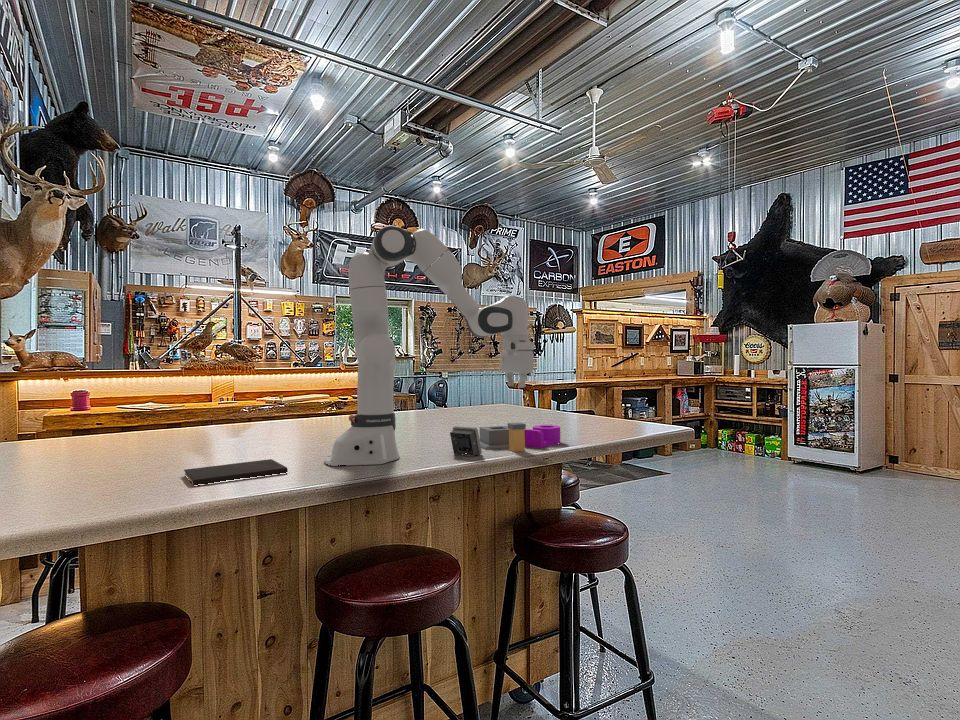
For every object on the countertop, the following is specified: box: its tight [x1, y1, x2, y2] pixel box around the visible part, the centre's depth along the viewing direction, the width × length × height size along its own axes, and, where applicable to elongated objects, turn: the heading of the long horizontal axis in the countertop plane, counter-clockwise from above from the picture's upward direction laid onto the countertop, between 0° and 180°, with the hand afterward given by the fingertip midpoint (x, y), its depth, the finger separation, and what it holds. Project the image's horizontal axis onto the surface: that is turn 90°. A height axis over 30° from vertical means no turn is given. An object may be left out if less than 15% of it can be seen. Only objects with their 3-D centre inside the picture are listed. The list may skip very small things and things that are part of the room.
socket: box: [479, 425, 509, 450], centre depth 188 cm, size 14×14×6 cm
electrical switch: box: [449, 425, 483, 457], centre depth 170 cm, size 9×5×9 cm, turn 57°
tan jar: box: [507, 422, 527, 453], centre depth 176 cm, size 5×5×9 cm
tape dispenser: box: [525, 424, 561, 449], centre depth 189 cm, size 16×10×6 cm, turn 143°
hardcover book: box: [183, 458, 289, 486], centre depth 144 cm, size 16×23×2 cm
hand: (516, 386), depth 176 cm, fingers open, 8 cm apart
